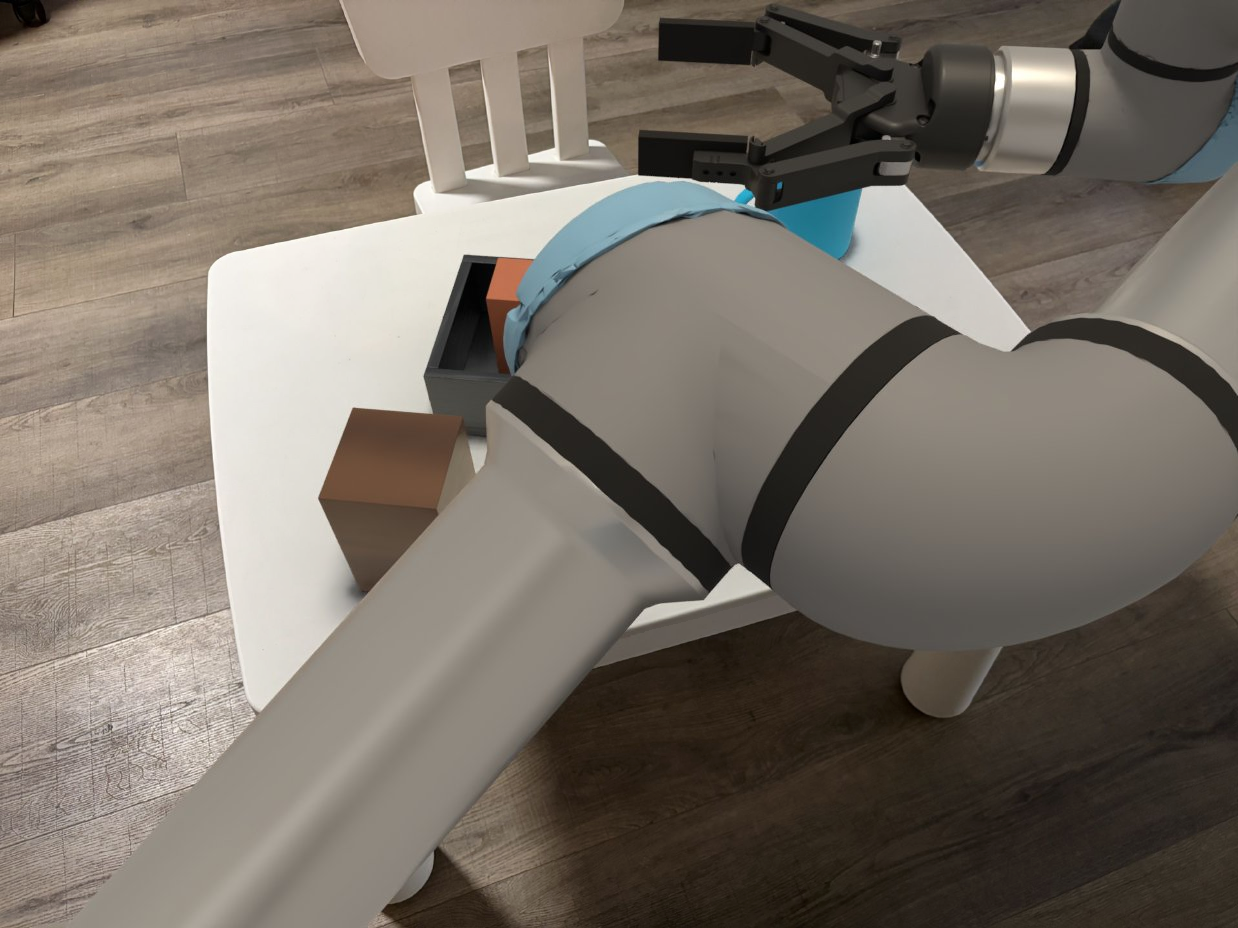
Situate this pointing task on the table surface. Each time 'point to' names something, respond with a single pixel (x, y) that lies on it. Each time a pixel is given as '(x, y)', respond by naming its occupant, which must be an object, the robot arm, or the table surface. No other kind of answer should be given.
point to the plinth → (392, 484)
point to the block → (504, 301)
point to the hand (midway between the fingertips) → (648, 92)
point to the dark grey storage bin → (466, 349)
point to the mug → (819, 219)
